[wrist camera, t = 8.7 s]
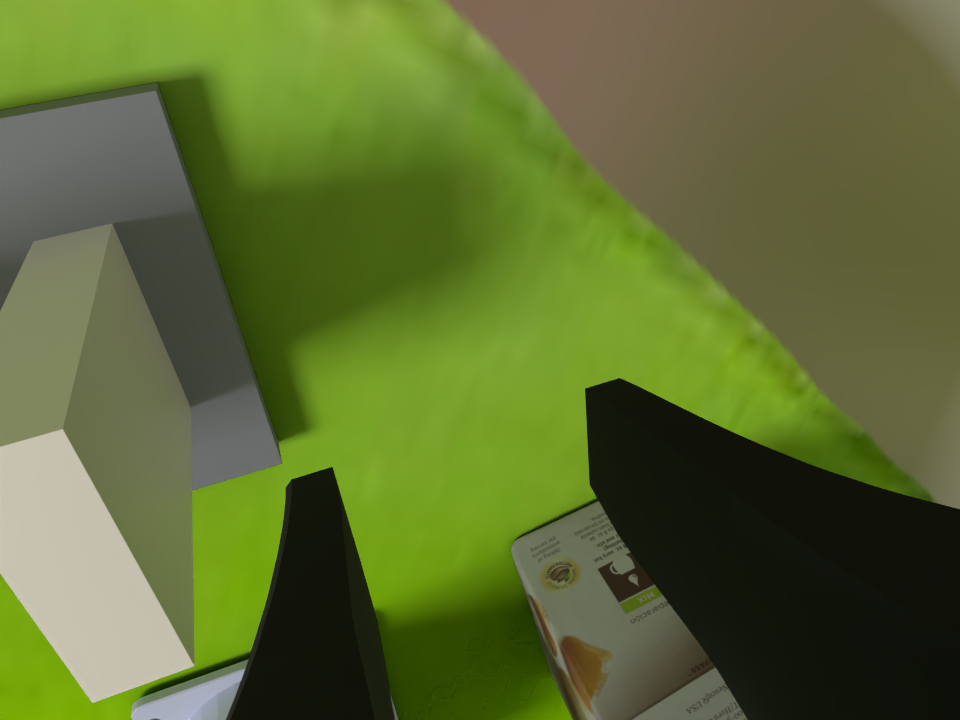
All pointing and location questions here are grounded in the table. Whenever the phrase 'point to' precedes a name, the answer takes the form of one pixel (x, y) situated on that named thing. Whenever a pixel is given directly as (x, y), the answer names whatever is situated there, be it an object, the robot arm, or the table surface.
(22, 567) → the domino
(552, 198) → the table surface
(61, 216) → the slate board
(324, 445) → the table surface
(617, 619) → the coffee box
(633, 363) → the table surface
